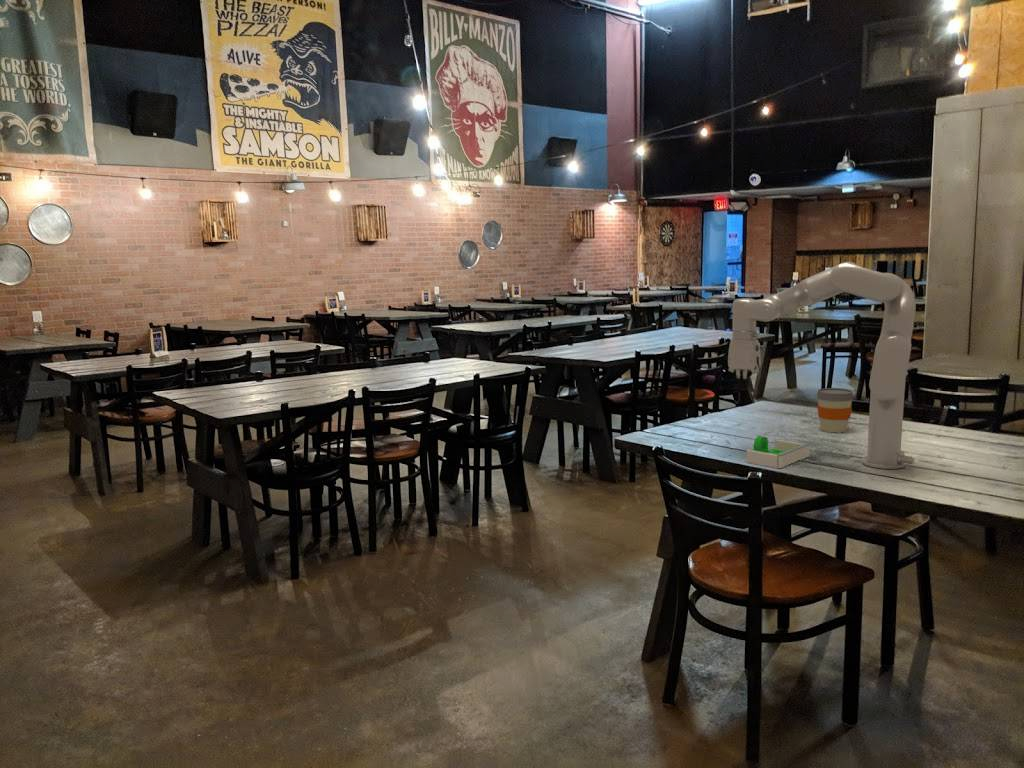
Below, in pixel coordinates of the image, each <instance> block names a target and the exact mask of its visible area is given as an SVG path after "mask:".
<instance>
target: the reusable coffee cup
mask: <svg viewBox="0 0 1024 768" xmlns="http://www.w3.org/2000/svg"><path fill="white" fill-rule="evenodd" d="M816 398H817V403H818V404H817V406H816V407H817V416H818V418H819V426H820V430H821V431H822V432H824V431H825V433H830V432H843V433H846V432H847V428H848V424H849V420H850V418H851V414H852V409H853V406H852V402H853V400H854V393H853V390H851V389H846V388H840V387H839V388H838V387H837V388H836V387H827V388H825V387H824V388H820V389H817V394H816ZM845 431H846V432H845Z"/></svg>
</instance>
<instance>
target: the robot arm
mask: <svg viewBox="0 0 1024 768" xmlns="http://www.w3.org/2000/svg"><path fill="white" fill-rule="evenodd" d="M844 292H845V293H848V294H851V295H854V296H857V297H861V298H864V299H867V300H870V301H873V302H878V303H883V304H884V313H883V318H882V319H883V320H882V326H881V331H880V335H879V339H878V340H877V343H876V346H875V348H874V349H875V350H874V355H873V361H872V366H871V373H870V378H869V383H868V387H869V390H870V396H869V397H870V398H869V411H868V412H869V413H868V414H869V415H868V416H869V417H868V434H867V450H866V451H867V453H866V456H863V457H862V458H861V463H862V465H865V466H867V467H871V468H875V469H884V470H885V469H886V470H897V469H903V468H905V467H906V465H907V464H908V465H914V463H915V458H914V457H913V456H909V455H905V451H904V450H902V434H903V419H904V418H903V417H904V402H905V390H906V378H907V373H908V367H909V362H910V358H911V357H910V356H911V353H912V352H911V351H912V335H913V331H914V323H915V315H916V309H917V308H916V297H915V293H914V292H913V289H912V288H911V286H910V285H909V284H908V283H907V282H906V281H905V280H904V279H902V278H901V277H900V276H898V275H896V274H894V273H890V272H881V271H875V270H873V269H870V268H866V267H863V266H860V265H858V264H857V263H855V262H853V261H844V262H841V263H839V264H838V263H837V265H834V266H833V267H830V268H828V269H825V270H823V271H821V272H819V273H815V274H814V275H812V276H809V277H806V278H804V279H803V280H801V281H799V282H798V283H796V284H794V285H793V286H791V287H788V288H786V289H784V290H782V291H780V292H778V293H775V294H772V295H770V296H768V297H765V298H761V299H754V298H749V297H748V298H746V297H745V298H736V299H734V300H733V302H732V337H731V339H730V341H729V347H728V355H727V366H728V372H730V373H733V374H734V375H735V376H736V378H737V379H738V380H737V384H738V385H737V386H738V391H748V389H749V387H750V386H749V383H750V382H749V381H750V380H749V379H750V378H751V377H752V376H753V375H756V374H759V373H760V368H761V365H762V364H761V363H762V360H761V357H762V356H761V347H760V343H759V340H758V339H757V338H759V337H760V333H759V332H757V321H759V322H765V323H766V322H771V321H774V320H775V319H778V318H779V317H782V316H784V315H786V314H787V315H788V314H789V313H791V312H794V311H796V310H799V309H801V308H804V307H808V306H809V307H810V306H812V305H816V304H818V303H821V302H822V301H825V300H827V299H830V298H833V297H835V296H837V295H840V294H842V293H844Z"/></svg>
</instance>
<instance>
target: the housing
mask: <svg viewBox="0 0 1024 768" xmlns="http://www.w3.org/2000/svg"><path fill="white" fill-rule="evenodd" d="M810 445H811V444H810V443H807V442H806V443H801V442H794V441H787V440H783V439H774V448H773V449H777V450H782V451H785V452H783V453H780V454H778V455H776V454H770V453H764V452H759V451H754V449H747V450H746V464H747V463H749V464H754V465H759V466H763V467H768V468H773V467H775V468H774V469H778V468H781V469H783V468H782V467H784V466H786V465H788V464H791V463H793V462H796V461H798V460H800V461H802V460H801V459H803V460H804V458H805V459H807V458H810V451H811V450H810V449H811V448H810V447H811V446H810ZM806 457H807V458H806ZM798 462H799V461H798ZM796 463H797V462H796ZM793 464H794V463H793ZM791 465H792V464H791ZM788 466H789V465H788ZM786 467H787V466H786ZM784 468H785V467H784Z"/></svg>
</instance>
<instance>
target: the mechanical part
mask: <svg viewBox="0 0 1024 768" xmlns="http://www.w3.org/2000/svg"><path fill="white" fill-rule="evenodd" d="M753 451H759V452H764V453H770V454H776V455H778V454H780V453H783V452H785V451H782V450H777V449H774V448H771V449H769V440H768V437H766V436H761V435H758V436H756V438H755V439H754V442H753Z"/></svg>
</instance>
